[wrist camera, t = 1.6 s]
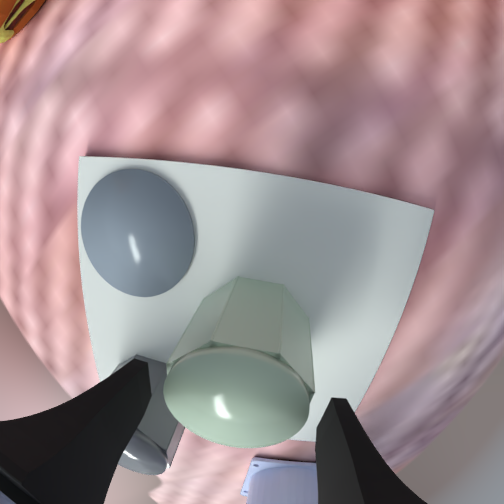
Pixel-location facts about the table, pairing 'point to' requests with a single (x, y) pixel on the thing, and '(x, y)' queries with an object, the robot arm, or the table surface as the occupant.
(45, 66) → the table surface
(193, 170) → the mat
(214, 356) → the green acorn nut
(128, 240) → the coaster
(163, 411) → the grey acorn nut
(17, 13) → the cheeseburger
